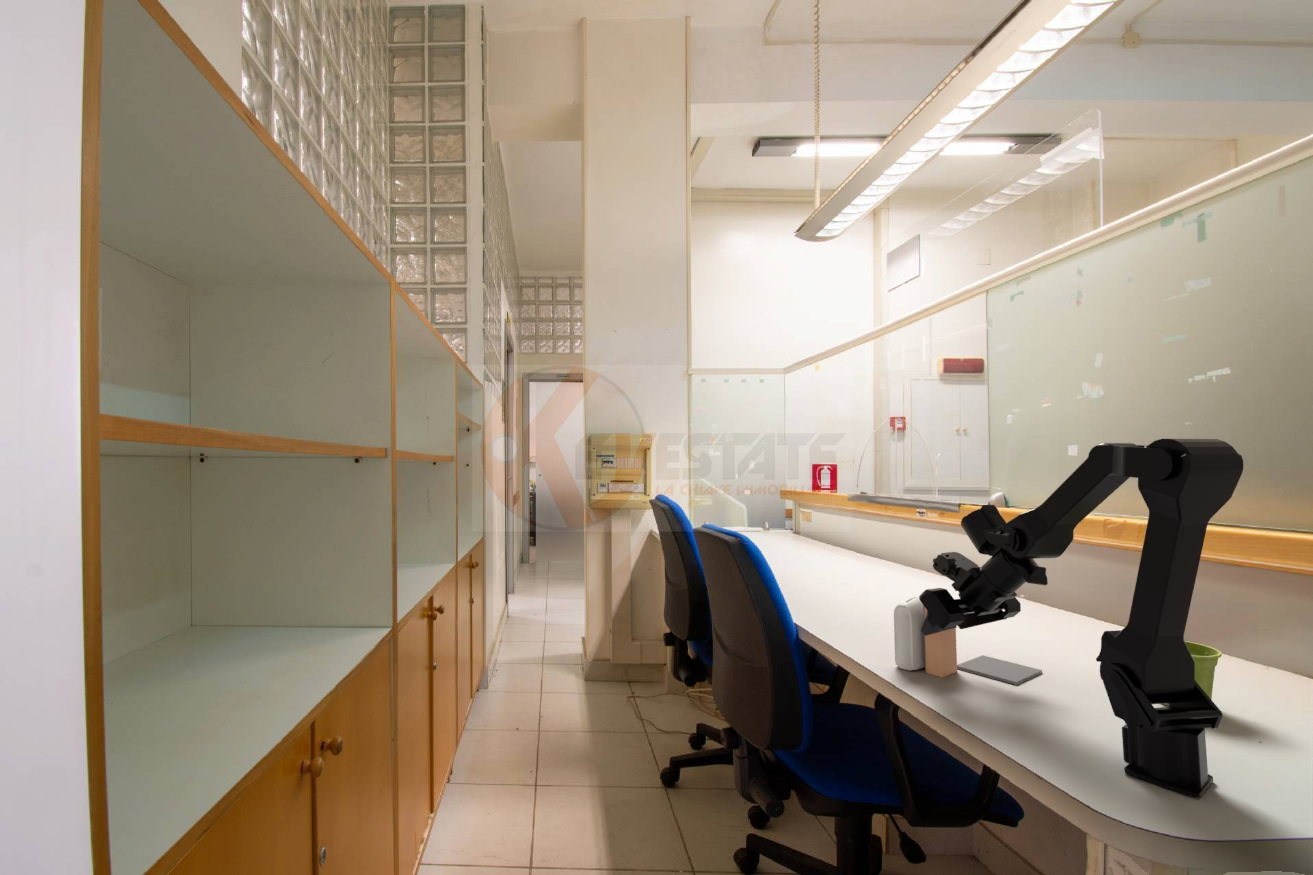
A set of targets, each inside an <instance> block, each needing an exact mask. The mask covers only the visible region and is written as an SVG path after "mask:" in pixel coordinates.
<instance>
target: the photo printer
mask: <svg viewBox="0 0 1313 875" xmlns="http://www.w3.org/2000/svg"><path fill="white" fill-rule="evenodd" d="M919 596H920V595H914V596H913V595H912V596H910V597H908V598H905V599H903V600H902V601H900V602H899V603H898V604H897V605H896V606H895V608H894V610H893V626H894V628H893V632H894V633H893V634H894V661H895V662H894V663H895V665H896V666H897V667H898V668H900V669H901V670H905V671H916V670H920V669H923V668H924V669H925V644H924V634H923V633H922V632H921V629H922V626H923V623H924V610H923V604H922V602H921V601H920V600H919Z"/></svg>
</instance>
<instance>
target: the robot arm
mask: <svg viewBox="0 0 1313 875" xmlns="http://www.w3.org/2000/svg"><path fill="white" fill-rule="evenodd" d="M1243 471H1244V458H1243V456H1242V454H1240V453H1239V452H1238V451H1236V449H1235V447H1234V446H1232V444H1229V443H1228V442H1227V441H1225V440H1221V439H1219V438H1160V439H1157V440H1156V439H1155V440H1154V441H1151V443H1149V444H1148V445H1143V444H1142V445H1140V444H1135V443H1131V442H1103V443H1100V444H1098V445H1095V446H1094V447H1092V448H1091V449H1090V451H1089V453H1088V456H1087V457H1086V458H1085V460H1084V461H1083V462H1081V464H1080V465H1079V466H1078V467H1077V468H1076V469H1075V470H1074V471H1073V472H1072V473H1071V474H1070V475H1069V476H1068V477H1067V478H1065V479H1064V481H1063V482H1062V483H1061V484H1060V485H1059V486H1058V487H1057V488H1056V489H1055V490H1054V491H1053V492H1052V493H1051V494H1050V495H1049V497H1047V498H1046V499H1045V500H1044V501H1043V502H1042V503H1041V504H1040V505H1038V506H1036V507H1034V508H1032V509H1029V510H1027V511H1025V512H1022V513H1020V514H1018V515H1016V516H1015V517H1013V518H1012V519H1010V520H1009V521H1007V522H1006V520H1005V518H1004V517H1003V516H1002V515H1001V514H1000V511H999V510H998V507H996V505H995V504H983V505H982V506H981V507H980V508H979V509H976V510H973V511H971V512H969V513H968V514H966V515H965V516H963V517H962V518H961V521H960V526H961V528H962V529H963V531H964V532H965V534H966V535H967V537H968V538H969V540H970V541H971V544H973V546H974V547H975V549H976V550H977V551H976V552H978V553H979V554H981V555H984V556H985V555H986V556H990V557H989V559H988V560H987V561H986V562H985V563H984V564H983V565H982V566H979V565H978V564H977V563H976V562H974V561H973V560H971V559H970V558H968V557H966V556H965V555H963V554H961V553H959V552H956V551H949V552H947V551H946V552H942V553H941V554H937V557H935V558H933V559H932V563H933V564H932V568H933V569H934V571H936V572H937V573H939V574H940V575H941V576H944V577H947V578H948V579H949V580H950V581H952V582H953V583H951V588H953V589H954V591H955V592H958V597H959V598H954V597H953V596H952V594H951V593H950V592H949V591H948V589H947V588H943V587H936V588H928V589H925V590H924V591H922V593H921V594H919V595H918V596H919V600H920V601H921V602H922V604H923V605H924V607H925V608H926V609H927V615H926V618H925V620H924V623H923V626H922V629H921V632H922V633H923V634H924V635H925V636H926V635H930V634H934V633H938V632H942V631H945V630H949V629H953V628H956V629H957V627H958V628H959V629H960V630H964V629H969V628H973V627H977V626H983V625H986V624H990V623H995V622H999V621H1004V620H1007V619H1009V618H1014V617H1016V616H1017V615H1018V614H1019V613H1020V612H1021V610H1022V608H1021V603H1020V601H1019V600H1018V599H1017V598H1016V597H1017V596H1018V593H1016V591H1017V590H1018V589H1020V588H1021V587H1022V586H1023V585H1025V583H1027V584H1031V585H1040V586H1048V582H1049V581H1048V577H1047V567H1045V566H1040V565H1039V564H1038V563H1037V562H1036V560H1035V559H1056V558H1059V557H1061V556H1062V555H1063V554H1064V552H1066V550H1067V549H1068V547H1069V546H1070V545H1071V544H1072V542H1073V540H1074V537H1075V534H1074V531H1075V529H1076V528H1077V526H1078V524H1079V523H1081V522H1082V521H1083V520H1084V519H1085V518H1087V516H1089V514H1091V513H1092V512H1093V511H1094V510H1095V509H1096V508H1098V506H1100V505H1101V504H1102V503H1103V502H1104V501H1105V500H1106V499H1108V497H1110V496H1111V495H1112V494H1113V493H1114V492H1115V491H1116V490H1118V489H1119V488H1120V487H1121V486H1122V485H1123V484H1124V483H1125V482H1126V481H1127V480H1128V479H1130V478H1135V479H1136V478H1137V488H1138V490H1139V493H1140V495H1141V498H1142V499H1143V501H1144V503H1145V505H1146V506H1147V509H1148V517H1147V518H1148V519H1147V523H1146V529H1145V535H1144V540H1143V544H1142V549H1141V555H1140V559H1139V564H1138V569H1137V575H1136V579H1135V580H1136V581H1135V586H1134V591H1133V596H1132V600H1131V606H1130V612H1129V617H1128V621H1127V624H1126V625H1125V626H1124V628H1122V629H1121V630H1105V631H1104V632H1102V635H1101V638H1100V640H1101V641H1100V650H1099V654H1098V656H1097V657H1096V658H1095V661H1096V662H1099V663H1100V664H1099V675H1100V679H1101V680H1102V682H1103V685H1104V686H1103V687H1104V689H1105V691H1106V695H1107V697H1108V700H1109V703H1110V707H1111V709H1112V712H1113V715H1114V716H1115V717H1116V718H1118V719H1121V720H1123V721H1124V723H1125V724H1124V725H1123V726H1122V727H1121V734H1122V736H1121V737H1122V752H1123V753H1122V754H1123V761H1124V762H1125V764H1127V765H1126V766H1124V767H1123V769H1124V770H1123V771H1124V773H1125V774H1127V775H1129V776H1133V777H1135V778H1137V779H1138V778H1139V779H1140V780H1144V781H1146V782H1149V783H1153V784H1154V785H1158V786H1161V787H1164V788H1166V789H1170V790H1172V791H1173V790H1174V791H1175V792H1178V793H1181V794H1184V795H1187V796H1190V797H1194V798H1198V799H1200V798H1201V797H1202V796H1203V795H1204V794H1205V792H1206V791H1207V790H1208V788H1209V787H1210V786H1211V785H1212V784H1213V783H1214V777H1213V775H1212V774H1209V771H1208V770H1209V769H1208V757H1207V742H1206V741H1207V740H1206V729H1212V730H1213V729H1214V730H1215V729H1218V728H1219V726H1220V724H1221V721H1222V719H1223V712H1222V711H1221V709H1220V708H1219V707H1218V706H1217V704H1216V703H1214V701H1213V700H1212V699H1210V698H1209V696H1208V695H1207V694H1206V693H1205V692H1204V691H1203V689H1202V688H1201V687H1200V686H1199V685H1198V683H1197V682H1196V681H1195V663H1194V660H1193V658H1192V656H1191V654H1190V652H1189V650H1188V648H1187V646H1186V644H1185V642H1184V641H1185V639H1184V638H1185V631H1186V627H1187V622H1188V618H1189V612H1190V608H1191V604H1192V598H1193V594H1194V589H1195V584H1196V579H1197V576H1198V571H1199V565H1200V561H1201V557H1202V552H1203V547H1204V542H1205V537H1206V533H1207V528H1208V524H1209V522H1210V520H1211V519H1212V518H1213V517H1214V516H1215V515H1216V514H1217V513H1218V512H1219V511H1220V510H1221V509H1222V508H1223V507H1224V506H1225V505H1226V504H1227V503H1228V502H1229V501H1230V499H1232V496H1233V494H1234V492H1235V490H1236V489H1237V486H1238V484H1239V482H1240V479H1241V476H1242V474H1243V473H1244V472H1243ZM1165 703H1169V706H1165V707H1164V706H1162V707H1161V706H1160V707H1154V705H1164V704H1165Z"/></svg>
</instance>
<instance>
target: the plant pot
mask: <svg viewBox="0 0 1313 875" xmlns="http://www.w3.org/2000/svg"><path fill="white" fill-rule="evenodd" d="M1184 642H1185V644H1186V646H1187V648H1188V650H1189V652H1190V654H1191V656H1192V658H1193V660H1194V663H1195V681H1196V682H1197V683H1198V685H1199V686H1200V687H1201V688H1202V689H1203V691H1204V692H1205V693H1206V694H1207V695H1208V696H1209V698H1210V699H1211V700H1212V699H1213V698H1212V696H1213V688H1214V687H1213V686H1214V680H1215V669H1216V667H1217V665H1218V662H1219V658H1222V655H1223V654H1222V651H1220V650H1218V649H1216V648H1215V647H1212V646H1210V645H1206V644H1201V643H1198V642H1192V641H1186V640H1184ZM1163 705H1165V706H1166V707H1170V706H1169V703H1165V704H1163Z"/></svg>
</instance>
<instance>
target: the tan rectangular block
mask: <svg viewBox="0 0 1313 875" xmlns="http://www.w3.org/2000/svg"><path fill="white" fill-rule="evenodd" d="M923 610H924V620H925V618H926V615H927V609H926V608H925V607H924V605H923ZM924 644H925V667H924V669H925V670H924V673H926V674H929V675H933V676H936V677H939V678H944V677H947V676H950V675H953V674H954V673H957V672H958V669H957V665H958V661H957V660H958V658H957V657H958V656H957V627H956V628H953V629H949V630H945V631H942V632H938V633H934V634H930V635H926V636H925V635H924Z"/></svg>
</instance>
